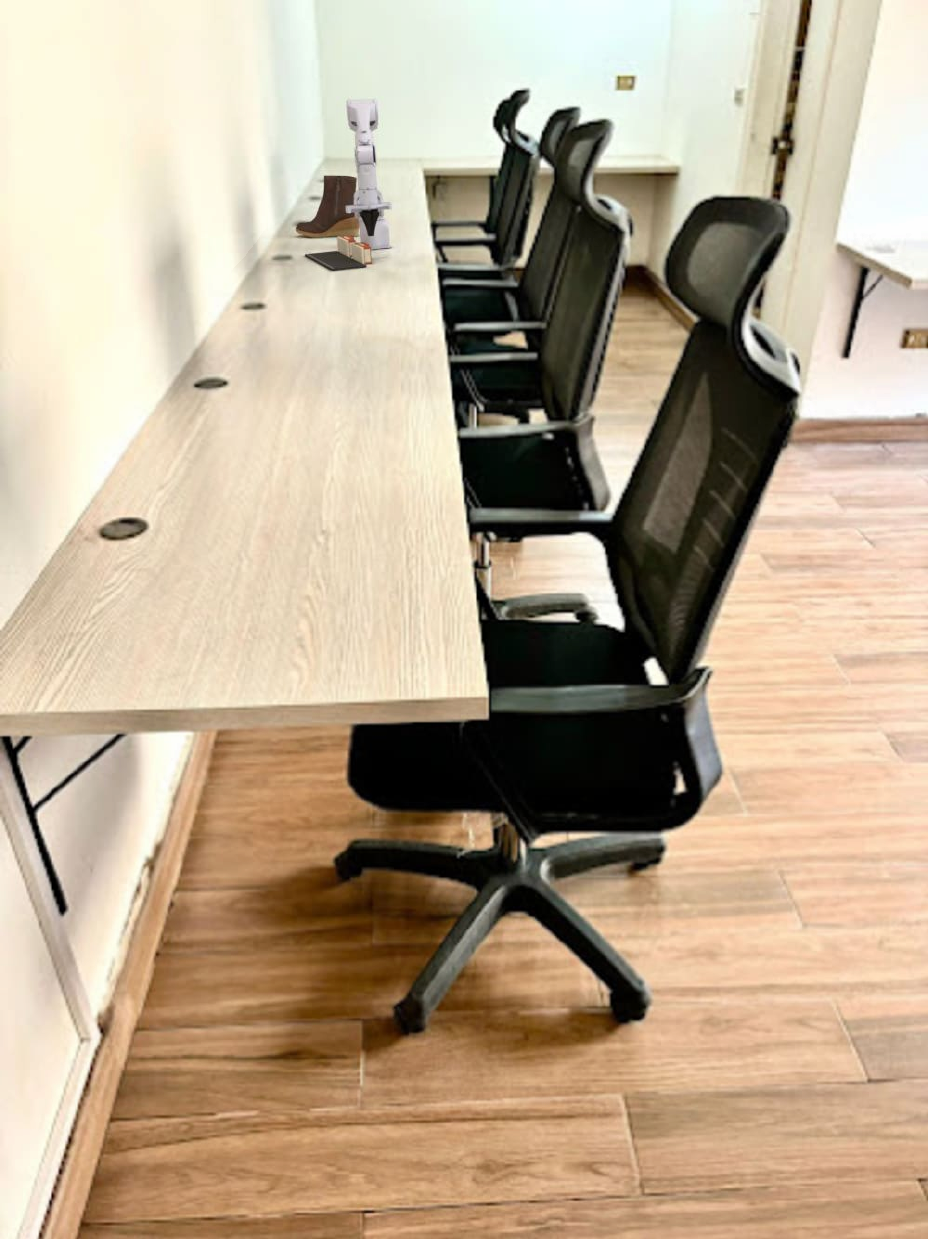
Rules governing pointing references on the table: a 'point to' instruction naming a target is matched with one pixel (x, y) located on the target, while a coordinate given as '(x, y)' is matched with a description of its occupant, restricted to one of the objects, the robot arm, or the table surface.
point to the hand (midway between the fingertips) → (370, 235)
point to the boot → (333, 210)
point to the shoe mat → (335, 261)
